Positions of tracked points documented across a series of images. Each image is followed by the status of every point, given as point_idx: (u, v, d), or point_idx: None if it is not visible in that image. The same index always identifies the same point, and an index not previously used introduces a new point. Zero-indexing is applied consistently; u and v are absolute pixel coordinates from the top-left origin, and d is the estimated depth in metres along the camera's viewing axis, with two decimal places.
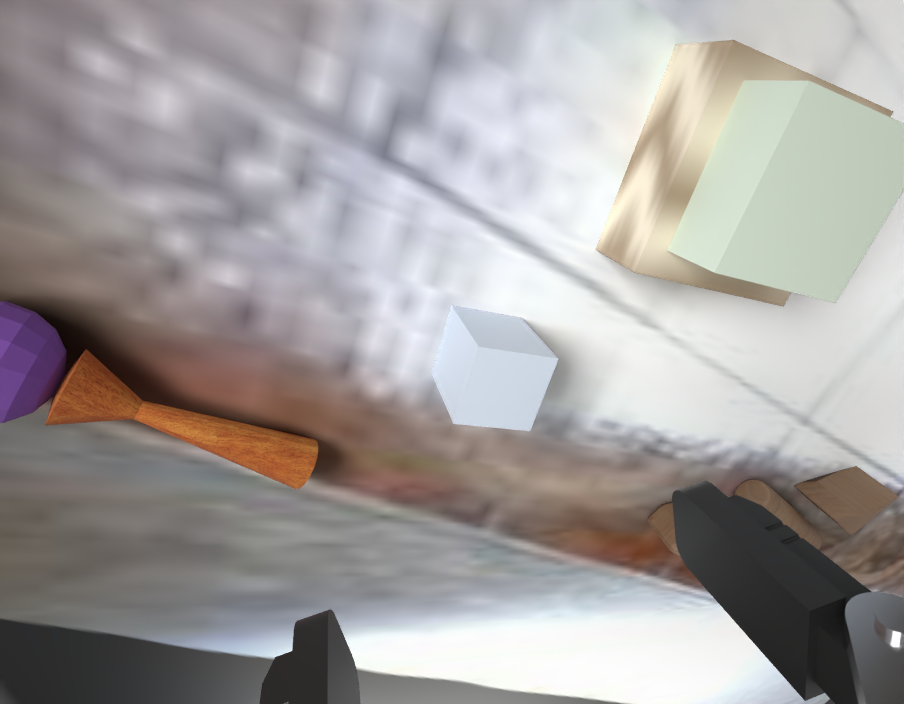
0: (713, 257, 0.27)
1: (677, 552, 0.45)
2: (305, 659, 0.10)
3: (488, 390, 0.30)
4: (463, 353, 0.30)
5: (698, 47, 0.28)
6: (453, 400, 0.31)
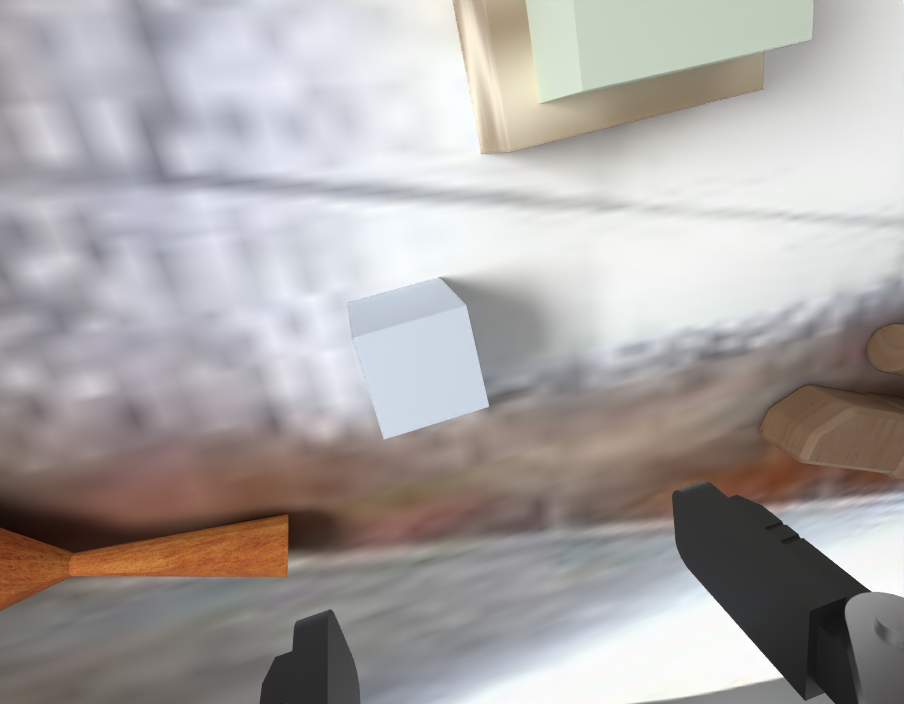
0: (573, 71, 0.18)
1: (812, 461, 0.33)
2: (305, 659, 0.10)
3: (400, 383, 0.23)
4: None
5: None
6: None
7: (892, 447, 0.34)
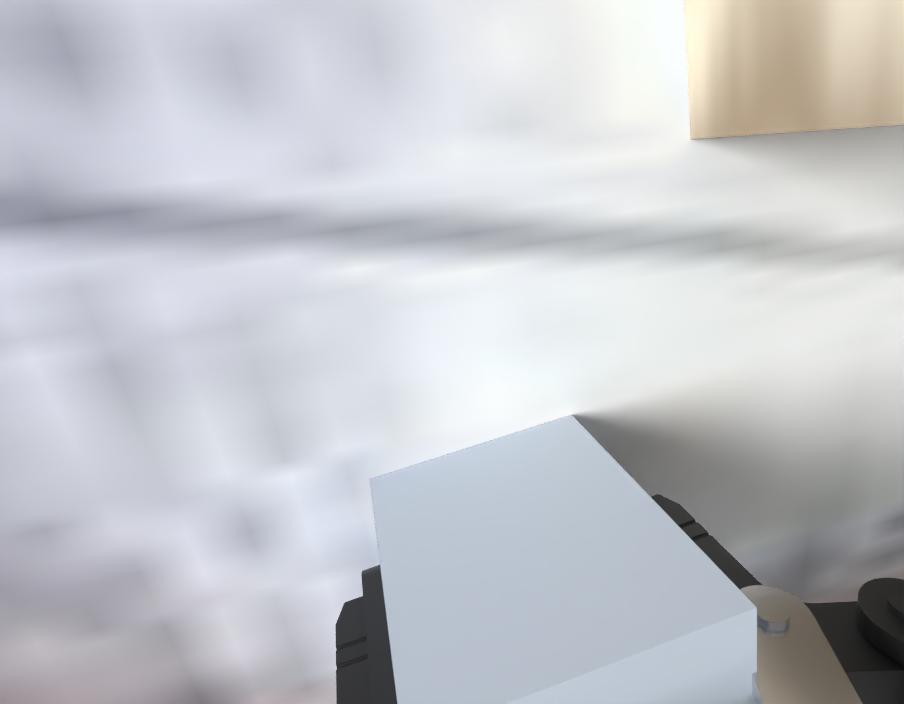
0: None
1: None
2: (376, 601, 0.11)
3: None
4: None
5: None
6: None
7: None
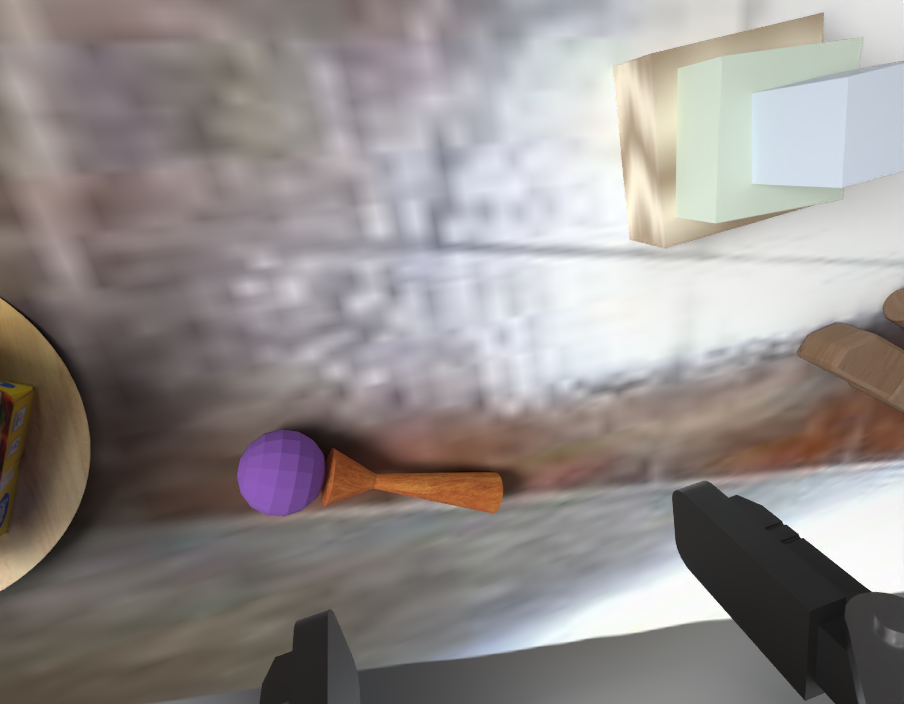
0: (710, 211, 0.32)
1: (839, 369, 0.44)
2: (305, 659, 0.10)
3: (869, 130, 0.25)
4: (813, 111, 0.26)
5: (629, 65, 0.34)
6: (824, 168, 0.27)
7: (893, 374, 0.45)
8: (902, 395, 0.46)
